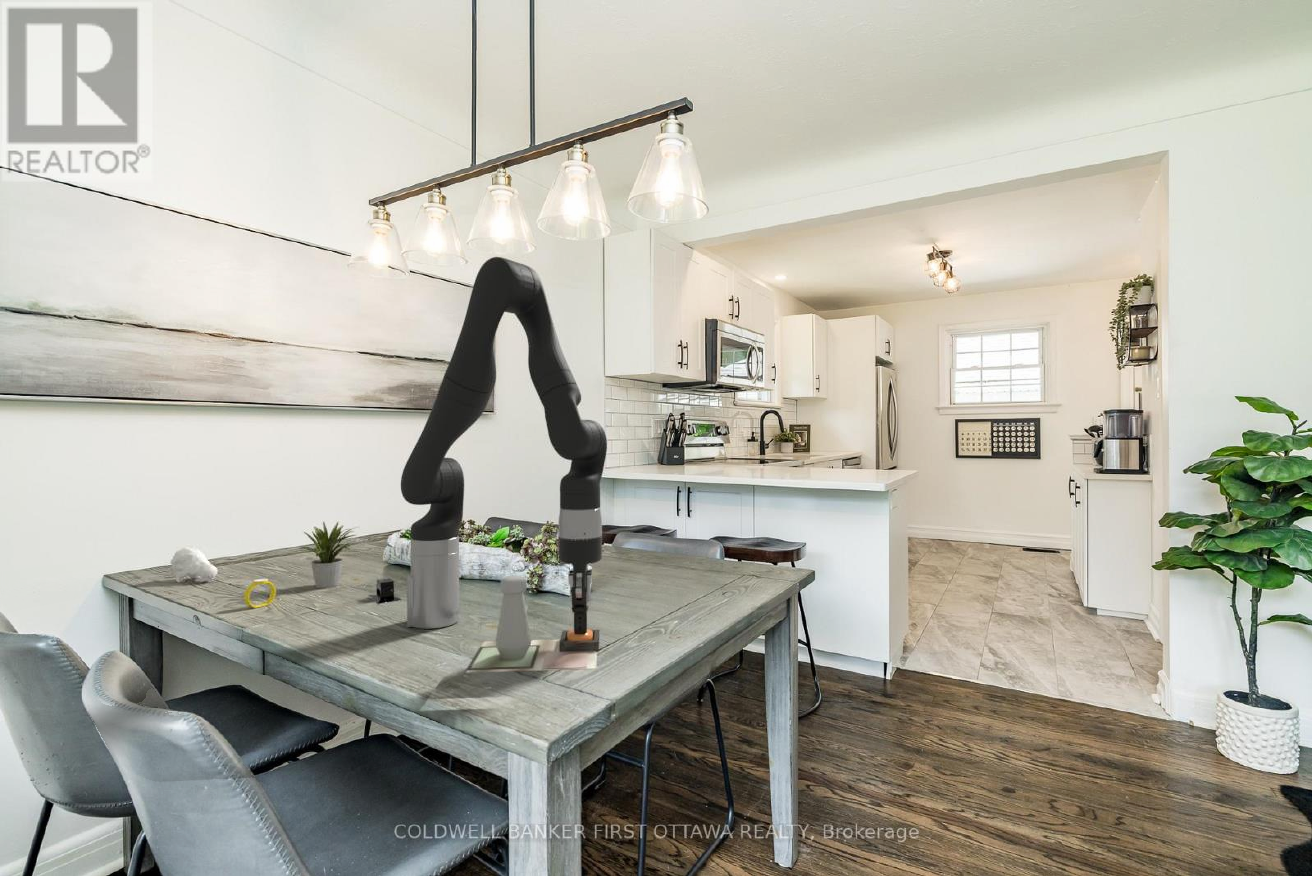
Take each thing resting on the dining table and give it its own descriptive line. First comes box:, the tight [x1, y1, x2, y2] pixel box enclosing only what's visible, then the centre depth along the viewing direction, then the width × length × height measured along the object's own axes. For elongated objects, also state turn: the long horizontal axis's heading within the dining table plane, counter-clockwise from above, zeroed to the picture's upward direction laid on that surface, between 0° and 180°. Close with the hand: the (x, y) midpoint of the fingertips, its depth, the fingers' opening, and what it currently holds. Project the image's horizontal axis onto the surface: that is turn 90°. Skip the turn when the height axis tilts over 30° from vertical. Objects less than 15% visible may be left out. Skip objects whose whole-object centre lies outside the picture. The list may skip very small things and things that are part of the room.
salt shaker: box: [494, 575, 532, 660], centre depth 99 cm, size 6×6×13 cm
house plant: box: [298, 521, 359, 589], centre depth 150 cm, size 14×14×16 cm
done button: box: [567, 628, 593, 641], centre depth 105 cm, size 4×4×2 cm
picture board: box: [465, 629, 600, 674], centre depth 100 cm, size 22×16×3 cm
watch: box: [243, 578, 277, 609], centre depth 133 cm, size 6×3×6 cm, turn 153°
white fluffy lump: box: [170, 546, 218, 584], centre depth 156 cm, size 6×8×12 cm
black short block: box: [367, 577, 402, 605], centre depth 140 cm, size 12×7×5 cm, turn 38°
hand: (580, 632), depth 105 cm, fingers closed
